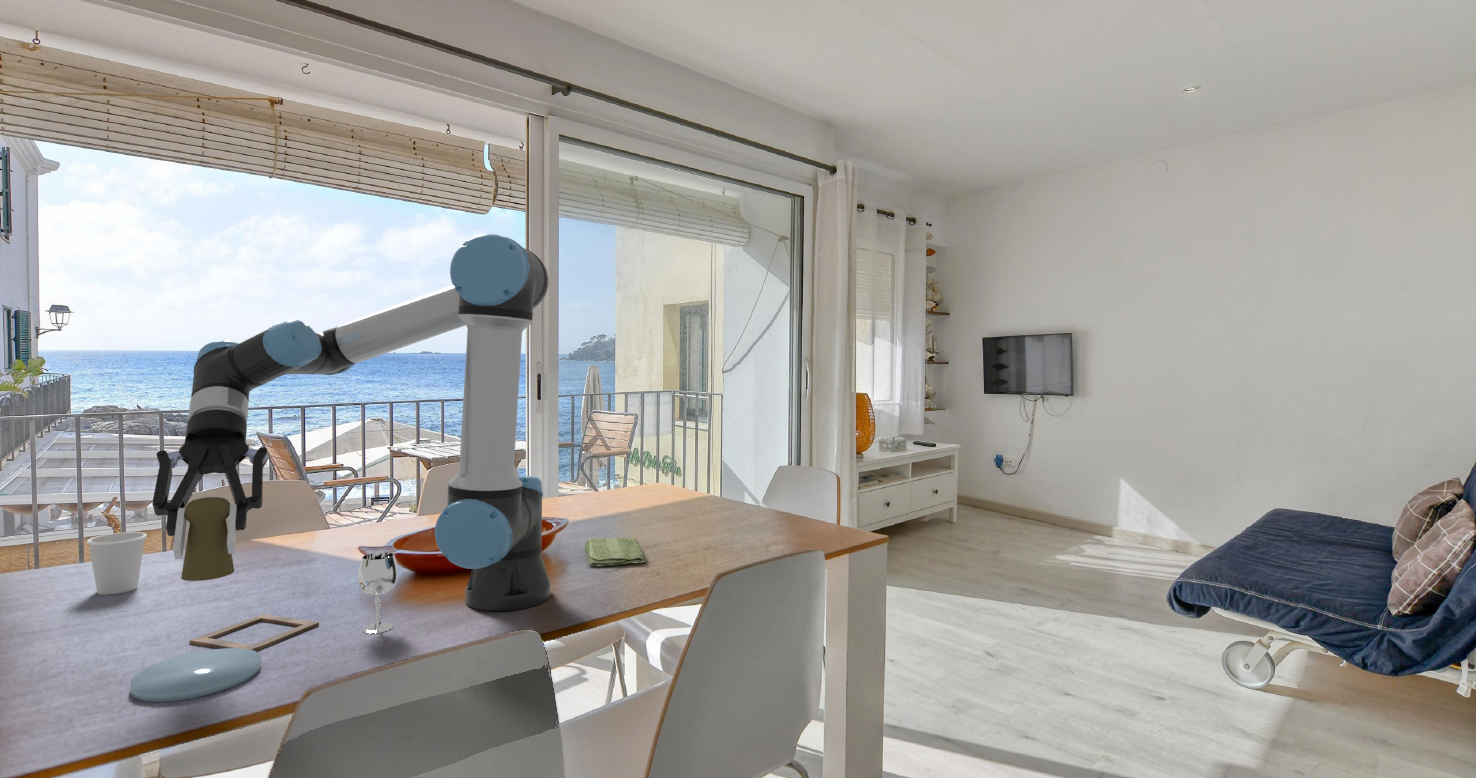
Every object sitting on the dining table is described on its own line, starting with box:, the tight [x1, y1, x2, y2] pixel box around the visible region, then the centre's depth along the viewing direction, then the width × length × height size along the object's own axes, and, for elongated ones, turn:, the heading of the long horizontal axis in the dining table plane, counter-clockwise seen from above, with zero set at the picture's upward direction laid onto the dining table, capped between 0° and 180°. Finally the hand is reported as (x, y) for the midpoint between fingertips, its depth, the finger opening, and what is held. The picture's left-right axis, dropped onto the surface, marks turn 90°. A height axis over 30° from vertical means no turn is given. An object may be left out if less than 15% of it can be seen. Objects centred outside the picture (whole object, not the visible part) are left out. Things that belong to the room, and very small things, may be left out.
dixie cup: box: [86, 531, 148, 596], centre depth 129 cm, size 8×8×10 cm
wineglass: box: [357, 551, 399, 635], centre depth 112 cm, size 6×6×12 cm
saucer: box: [130, 648, 262, 703], centre depth 94 cm, size 14×14×1 cm
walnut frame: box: [189, 613, 320, 652], centre depth 109 cm, size 12×12×1 cm
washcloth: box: [583, 537, 647, 567], centre depth 159 cm, size 13×18×3 cm
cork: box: [180, 496, 235, 582], centre depth 98 cm, size 6×6×11 cm
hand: (204, 550), depth 95 cm, fingers closed on cork, 5 cm apart
